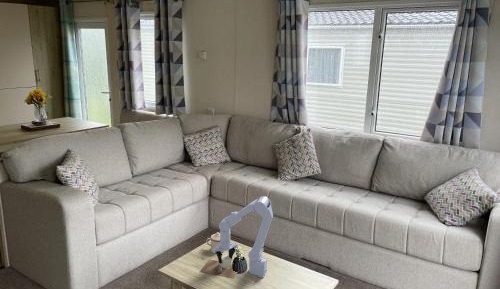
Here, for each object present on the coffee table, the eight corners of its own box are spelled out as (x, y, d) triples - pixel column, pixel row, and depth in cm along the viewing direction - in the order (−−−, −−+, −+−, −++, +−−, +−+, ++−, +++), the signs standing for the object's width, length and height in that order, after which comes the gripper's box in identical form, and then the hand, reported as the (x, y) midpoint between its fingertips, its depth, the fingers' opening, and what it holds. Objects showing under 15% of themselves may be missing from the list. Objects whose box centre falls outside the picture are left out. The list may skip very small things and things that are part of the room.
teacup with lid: (227, 248, 248) (227, 230, 245) (222, 255, 239) (222, 237, 236) (209, 245, 251) (209, 228, 248) (203, 252, 242) (203, 234, 239)
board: (241, 266, 227) (241, 260, 226) (233, 280, 214) (233, 273, 213) (209, 260, 233) (209, 254, 232) (199, 273, 220) (199, 267, 219)
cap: (227, 261, 230) (227, 254, 229) (230, 266, 226) (231, 258, 225) (219, 263, 228) (219, 256, 226) (222, 268, 223) (222, 260, 222)
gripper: (233, 233, 229) (233, 255, 233) (210, 239, 223) (210, 261, 226) (239, 239, 223) (238, 261, 227) (215, 244, 217) (215, 267, 220)
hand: (225, 261), depth 226 cm, fingers open, 6 cm apart
